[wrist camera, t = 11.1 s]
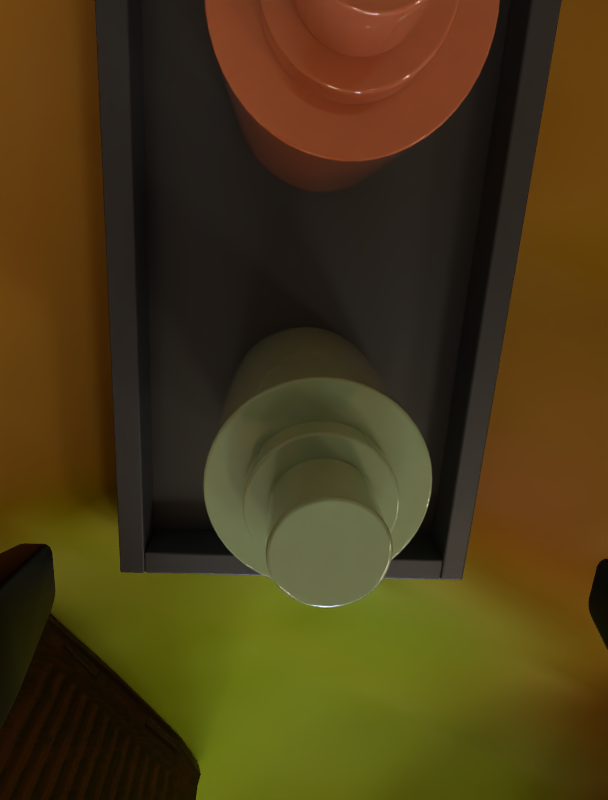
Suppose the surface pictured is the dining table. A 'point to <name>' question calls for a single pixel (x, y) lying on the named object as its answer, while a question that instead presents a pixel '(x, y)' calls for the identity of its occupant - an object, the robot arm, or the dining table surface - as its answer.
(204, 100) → the tray
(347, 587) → the green bottle
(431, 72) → the terracotta bottle
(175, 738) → the dark brown piece
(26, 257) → the dining table surface
